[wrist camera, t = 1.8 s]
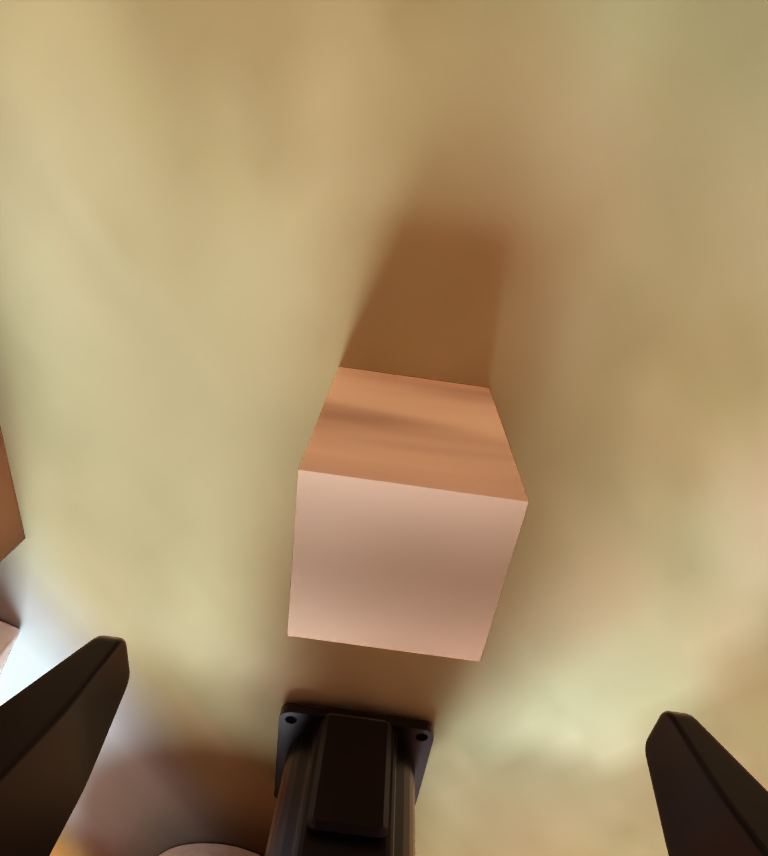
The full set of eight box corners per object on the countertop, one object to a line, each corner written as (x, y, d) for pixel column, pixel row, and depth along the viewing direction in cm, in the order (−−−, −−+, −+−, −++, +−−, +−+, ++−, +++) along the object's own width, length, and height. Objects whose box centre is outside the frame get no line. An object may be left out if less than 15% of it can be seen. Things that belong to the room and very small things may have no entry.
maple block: (459, 511, 17) (480, 662, 12) (326, 492, 17) (287, 635, 12) (488, 387, 15) (529, 501, 10) (338, 366, 15) (297, 469, 10)
